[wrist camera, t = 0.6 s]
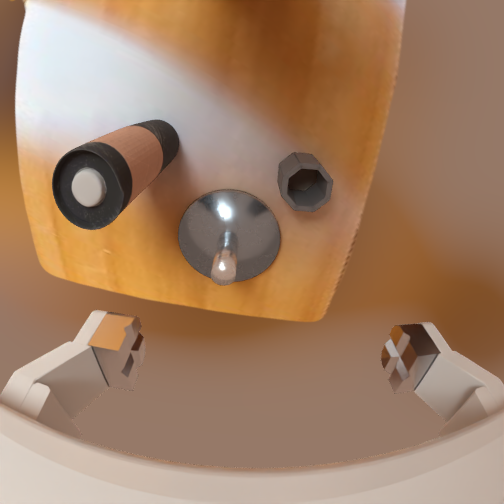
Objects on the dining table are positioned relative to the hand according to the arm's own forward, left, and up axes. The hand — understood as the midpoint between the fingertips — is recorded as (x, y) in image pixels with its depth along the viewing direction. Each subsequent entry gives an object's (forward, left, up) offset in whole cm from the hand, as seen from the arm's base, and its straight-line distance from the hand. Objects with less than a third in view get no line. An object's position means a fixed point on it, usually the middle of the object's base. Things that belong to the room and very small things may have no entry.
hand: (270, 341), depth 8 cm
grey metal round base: (+16, -4, -34) cm, 37 cm away
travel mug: (+1, -15, -34) cm, 37 cm away
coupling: (+5, +6, -34) cm, 35 cm away
